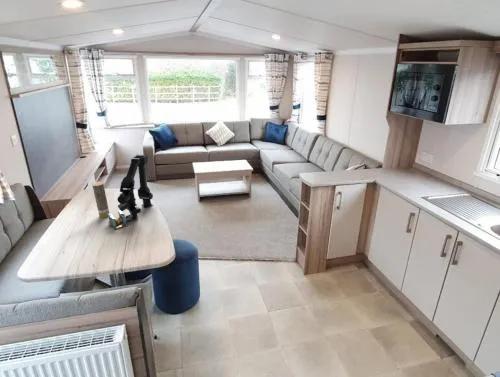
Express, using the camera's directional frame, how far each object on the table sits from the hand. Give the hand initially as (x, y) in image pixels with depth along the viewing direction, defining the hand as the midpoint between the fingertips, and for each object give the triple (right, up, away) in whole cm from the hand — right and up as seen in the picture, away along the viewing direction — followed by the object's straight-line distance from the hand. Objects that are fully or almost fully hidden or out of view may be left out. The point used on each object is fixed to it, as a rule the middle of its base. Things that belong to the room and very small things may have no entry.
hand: (133, 218), depth 215 cm
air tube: (-5, -3, -3) cm, 7 cm away
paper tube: (-23, +1, +5) cm, 23 cm away
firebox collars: (-8, -4, -6) cm, 11 cm away
